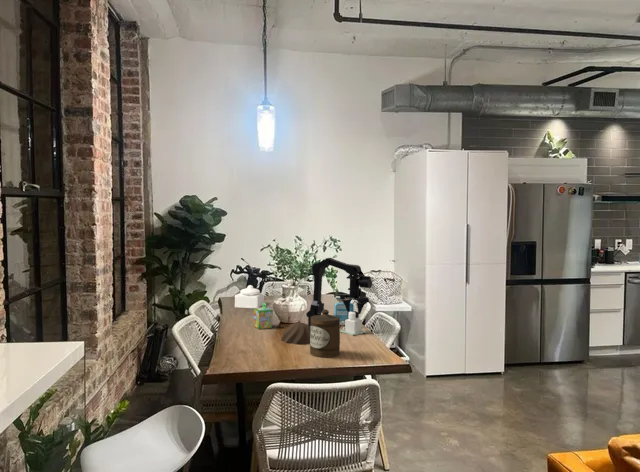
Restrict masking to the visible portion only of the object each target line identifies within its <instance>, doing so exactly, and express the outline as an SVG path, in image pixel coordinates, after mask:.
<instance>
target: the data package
mask: <svg viewBox="0 0 640 472" xmlns="http://www.w3.org/2000/svg"><path fill="white" fill-rule="evenodd" d="M333 310H334V311H333V314H334V316H338V317H339V318H340V322H342V321H345V320H347V319H349V318H348V316H349V312H350V311H354V310H355V309H354V304H353V303H352V302H350V310H349V312H348V311H347V309H346V307H345V305H344V303H343V302H335V303H334V309H333Z"/></svg>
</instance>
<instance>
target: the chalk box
mask: <svg viewBox="0 0 640 472" xmlns="http://www.w3.org/2000/svg"><path fill="white" fill-rule="evenodd" d="M273 313H274V310H273V309H272V308H271V307H267V303H266V302H264V303H263V305H262V306H261V307H259V308H253V327H254V328H256V329H258V330H263V329H264V330H265V329H273Z"/></svg>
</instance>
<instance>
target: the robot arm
mask: <svg viewBox="0 0 640 472" xmlns="http://www.w3.org/2000/svg"><path fill="white" fill-rule="evenodd" d="M329 266H331V267H334V268H337V269H340V270H342V271H344V272H346V274H348V276H346V279H347V280H349V287H348V289H347V290H348V291H349V293H342V294H340V296H339V298H340V300H341V301H342V303H344V305H345V307H346V309H347V311H348V312H349V310H350V303H352V300H353V301H356V306H357V312H358V313H359V315H361V313H362V310H363V308H364V306H365V305H366V304H367V303H369V302H370V301H369V300H370V299H369V297H367V292H364V291H362V289H361V288H365V289H371V288H372V287H373V280H372V277H371V275H369V276H368V275H367V276H366V275H365V274H364V273H363V271H362V268H361V266H360V265H359V264H349V263H346V262H344V261H343V262H342V261H340V260H338V259H335V258H332V257H326V258H324V259H322V260H321V261H319V262H316V263H313V264H312V267H311V271H312V275H313V277H314V279H313V296H312V297H313V298H312V302H311V304H310V308H309V310H308V311H307V312H306V314H305V315H306V317H307V325H309V326H310V327H311V317H312V316H315V315H322V314H323V313H322V311H323V310H325V303H324V302H322V290H323V289H322V287H323V278H324V277H323V276H324V274H325V271H326V269H327V268H329Z"/></svg>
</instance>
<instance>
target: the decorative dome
mask: <svg viewBox="0 0 640 472" xmlns="http://www.w3.org/2000/svg"><path fill="white" fill-rule="evenodd" d="M310 333H311V327H310V326H309V325H308V323H305V322H300V321H299V322H294V323H293V324H291V325H289V326H288V327H287V328H285V329H284V330H283V333H282V337H281V339H280V341H281V342H282V341H283V342H284V344H293V345H310Z"/></svg>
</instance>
